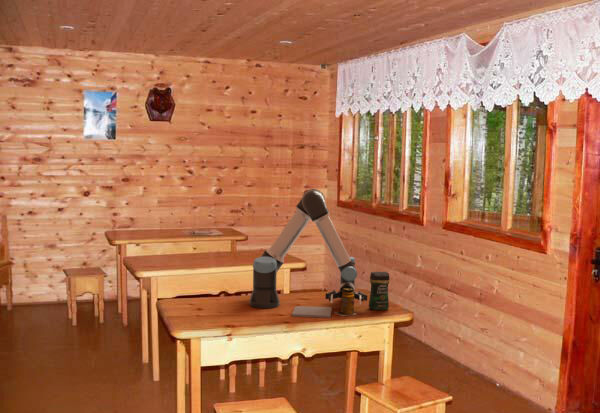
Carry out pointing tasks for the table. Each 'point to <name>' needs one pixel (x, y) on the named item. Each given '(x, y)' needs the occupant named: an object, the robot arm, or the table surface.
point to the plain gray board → (312, 311)
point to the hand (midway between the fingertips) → (345, 300)
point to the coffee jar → (379, 291)
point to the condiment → (347, 302)
